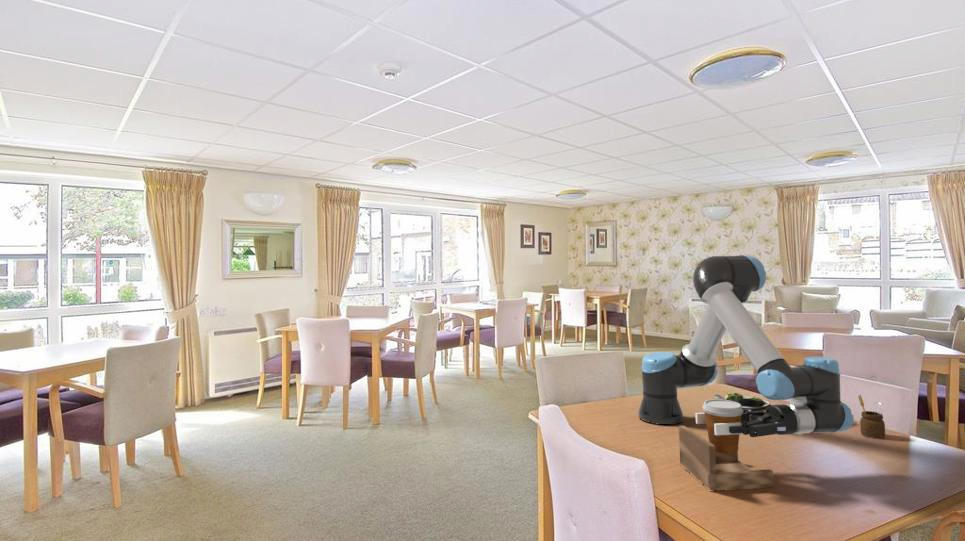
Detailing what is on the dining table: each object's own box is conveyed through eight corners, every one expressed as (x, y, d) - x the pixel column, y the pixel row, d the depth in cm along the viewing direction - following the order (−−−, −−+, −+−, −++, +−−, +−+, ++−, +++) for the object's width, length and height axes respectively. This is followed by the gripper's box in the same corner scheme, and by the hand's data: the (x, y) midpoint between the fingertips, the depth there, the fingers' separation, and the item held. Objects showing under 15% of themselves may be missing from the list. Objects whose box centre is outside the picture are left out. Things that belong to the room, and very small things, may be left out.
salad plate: (701, 401, 188) (700, 390, 188) (731, 395, 195) (731, 385, 195) (745, 414, 170) (744, 402, 170) (776, 407, 177) (776, 395, 177)
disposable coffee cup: (696, 444, 124) (694, 399, 125) (730, 442, 125) (728, 397, 125) (717, 458, 115) (715, 409, 115) (753, 455, 116) (751, 407, 116)
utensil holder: (879, 440, 141) (878, 401, 141) (855, 434, 146) (854, 396, 146) (889, 436, 143) (887, 398, 143) (865, 430, 149) (863, 393, 149)
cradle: (735, 462, 128) (734, 422, 128) (773, 487, 113) (771, 442, 113) (680, 465, 127) (678, 425, 127) (710, 491, 112) (709, 446, 112)
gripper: (821, 448, 111) (730, 453, 109) (762, 420, 132) (685, 425, 130) (819, 416, 111) (729, 422, 109) (761, 394, 132) (684, 398, 130)
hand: (705, 423), depth 120 cm, fingers closed on disposable coffee cup, 8 cm apart
